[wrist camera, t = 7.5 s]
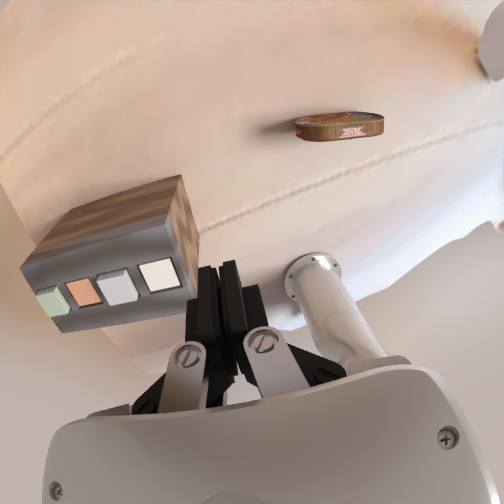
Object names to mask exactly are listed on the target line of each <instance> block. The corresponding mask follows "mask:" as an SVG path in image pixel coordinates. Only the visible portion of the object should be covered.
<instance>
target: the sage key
mask: <svg viewBox="0 0 504 504" xmlns="http://www.w3.org/2000/svg"><path fill="white" fill-rule="evenodd" d="M35 297H36V299H37V300H38V302H39V303H40V305H41V306H42V308H43V309H44V311H45V312H46V314H47V315H48V316H49V317H53V316H58V315H64V314H68V312H69V310H70V308H71V307H70V305H69V304H68V302H67V301H66V299H65V298H64V296H63V294H62V293H61V291H60V289H59V288H58V286H57V285H53V286H49V287H46V288H42V289H39V290H38V292H37V294H36V295H35Z"/></svg>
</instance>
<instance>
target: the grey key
mask: <svg viewBox="0 0 504 504" xmlns="http://www.w3.org/2000/svg"><path fill="white" fill-rule="evenodd" d="M96 282H97V284H98V285H99V287H100V289H101V291H102V293H103V294H104V296H105V298H106V299H107V301H108V303H109V305H110V306H112V305H117V304H122V303H127V302H132V301H137V298H138V294H139V291H138V289H137V287H136V285H135V283H134V281H133V279H132V277H131V275H130V273H129V271H128V269H127V267H125V268H121V269H117V270H113V271H109V272H105V273H101V274H100V275H99V277H98V279H97V281H96Z"/></svg>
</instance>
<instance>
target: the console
mask: <svg viewBox="0 0 504 504" xmlns="http://www.w3.org/2000/svg"><path fill="white" fill-rule="evenodd" d="M167 257H172V260H173V262H174V265H175V267H176V270H177V273H178V275H179V278H180V280H181V284H180V285H179V286H175V287H170V288H165V289H161V290H156V291H150V289H149V287H148V285H147V283H146V280H145V278H144V276H143V274H142V272H141V270H140V267H139V264H142V263H146V262H150V261H154V260H158V259H162V258H167ZM198 258H199V235H198V232H197V228H196V225H195V222H194V218H193V215H192V211H191V208H190V205H189V201H188V198H187V194H186V191H185V187H184V183H183V180H182V176H181V175H177V176H174V177H170V178H166V179H163V180H159V181H156V182H152V183H149V184H146V185H142V186H139V187H136V188H132V189H129V190H126V191H123V192H120V193H117V194H114V195H111V196H108V197H105V198H102V199H99V200H96V201H93V202H91V203H88V204H85V205H82V206H80V207H77V208H74V209H72V210H70V211H69V212H68V213H67V214H66V215H65V216H64V217H63V218H62V219H61V220H60V222H59V223H58V224H57V225H56V226H55V227H54V228H53V229H52V230H51V231H50V232H49V233H48V235H47V236H46V237H45V238H44V239H43V240H42V241H41V243H40V244H39V245H38V246H37V247H36V248H35V250H34V251H33V252H32V253H31V254H30V256H29V257H28V258H27V259H26V261H25V262H24V263H23V264H22V266H21V267H20V270H21V271H22V273H23V275H24V277H25V278H26V280H27V282H28V283H29V285H30V287H31V288H32V290H33V292H34V293H35V295H36V294H37V292H38V290H39V289H42V288H46V287H49V286H53V285H57V286H58V288H59V289H60V291H61V293H62V294H63V296H64V298H65V299H66V301H67V302H68V304H69V305H70V307H71V308H70V310H69V312H68V314H64V315H58V316H53V317H51V319H52V320H53V322H54V323H55V324H56V326H57V327H58V328H59V330H60V331H61V332H62V333H67V332H74V331H81V330H87V329H94V328H101V327H107V326H113V325H119V324H125V323H131V322H137V321H143V320H148V319H154V318H159V317H164V316H170V315H175V314H180V313H185V312H186V309H187V300H189V299H193V298H197V287H198ZM125 267H127V269H128V271H129V273H130V275H131V277H132V279H133V281H134V283H135V285H136V287H137V289H138V291H139V294H138V298H137V301H132V302H127V303H122V304H117V305H112V306H110V305H109V303H108V301H107V299H106V298H105V296H104V294H103V293H102V291H101V289H100V287H99V285H98V284H97V282H96V281H97V279H98V277H99V275H100V274H101V273H105V272H109V271H113V270H117V269H121V268H125ZM85 277H89V278H90V280H91V282H92V284H93V286H94V287H95V289H96V291H97V293H98V294H99V296H100V298H101V300H102V302H98V303H93V304H88V305H83V306H79V305H78V303H77V302H76V300H75V298H74V297H73V295H72V293H71V292H70V290H69V288H68V287H67V285H66V282H69V281H73V280H77V279H81V278H85Z"/></svg>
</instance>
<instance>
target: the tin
mask: <svg viewBox="0 0 504 504" xmlns="http://www.w3.org/2000/svg"><path fill="white" fill-rule="evenodd" d="M293 123H294V126H295V133H296V136H297V137H299V138H301V139H303V140H306V141H314V142H325V141H336V140H345V139H353V138H362V137H371V136H377V135H381V134H382V133H383V132H384V117H383V116H381V115H379V114H374V113H367V112H341V113H330V114H320V115H311V116H305V117H301V118H298V119H295V120H294V121H293Z"/></svg>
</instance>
